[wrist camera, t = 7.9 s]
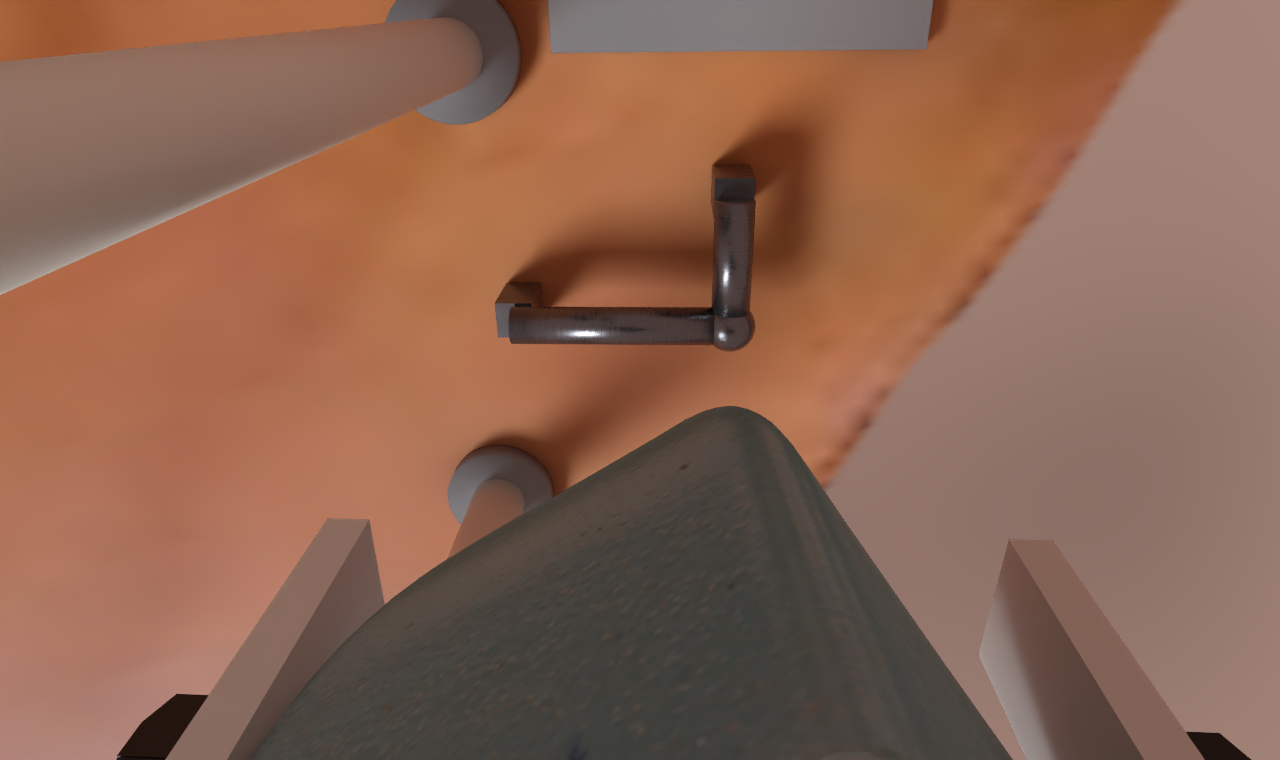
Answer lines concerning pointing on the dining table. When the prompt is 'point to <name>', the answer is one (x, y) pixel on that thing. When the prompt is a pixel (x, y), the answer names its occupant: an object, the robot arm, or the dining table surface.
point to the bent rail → (658, 325)
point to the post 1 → (220, 118)
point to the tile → (737, 25)
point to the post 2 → (494, 491)
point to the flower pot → (648, 630)
